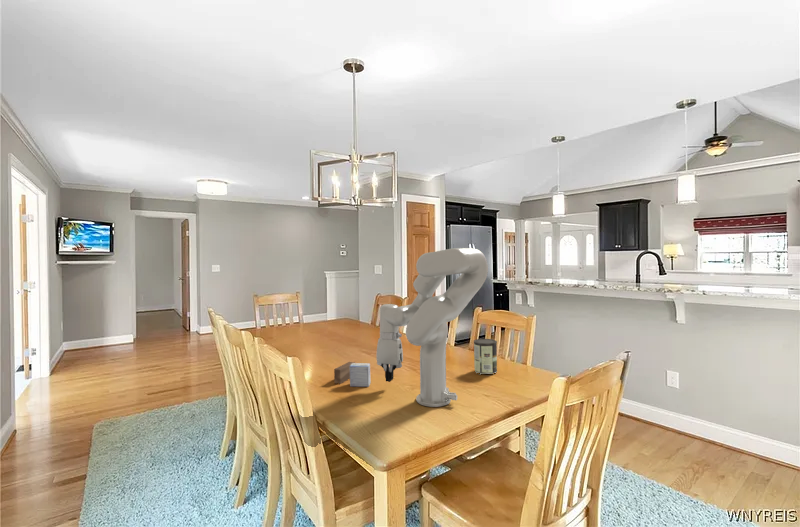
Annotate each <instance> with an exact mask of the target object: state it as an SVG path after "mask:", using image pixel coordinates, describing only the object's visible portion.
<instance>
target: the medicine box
mask: <svg viewBox="0 0 800 527" xmlns="http://www.w3.org/2000/svg"><path fill="white" fill-rule="evenodd" d="M371 382H372V381H371V363H369V362H368V363H367V362H366V363H365V362H364V363H363V362H361V363H360V362H358V363H357V362H355V363H352V364H351V365H350V379H349V384H350V385H349V386H350V387H367V388H368V387H370V385H371Z"/></svg>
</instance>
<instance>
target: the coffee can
mask: <svg viewBox="0 0 800 527" xmlns="http://www.w3.org/2000/svg"><path fill="white" fill-rule="evenodd" d="M497 342H498V341H497V340H496V339H491V338H477V339H474V340H473V350H474V351H473V356H474V358H473V359H474V367H473V368H474V370H475V372H476V373H475V372H474V373H475V374H477V373H480V374H479V375H481V374H493V373H496V372H497V373H498V357H497V355H498V354H497V349H498V348H497V346H498V345H497ZM497 373H496V374H497ZM493 375H494V374H493Z"/></svg>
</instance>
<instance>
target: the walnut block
mask: <svg viewBox="0 0 800 527" xmlns="http://www.w3.org/2000/svg"><path fill="white" fill-rule="evenodd" d="M352 363H356V362H355V361H348V362H346V363H344V364H342V365H339V366H338V367H336V368H334V370H333V372H334V374H333V376H334V384H337V383H339V385H342V384H343V383H344V382H347V381H348V379H349V380H350V365H351V364H352Z"/></svg>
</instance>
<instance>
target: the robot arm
mask: <svg viewBox="0 0 800 527" xmlns="http://www.w3.org/2000/svg"><path fill="white" fill-rule="evenodd" d="M415 267H416V269H415V270H416V271H417V274H418V275H417V277H416V278H415V279H414V281H413V283H412V285H413V288H414V290H415V292H417V295H416V297H415V298H414V300H413V301H412V303H411V304H406V305H401V306H398V305H397V304H394V303H393V304H392V303H388V304H387V303H385V304H382V305H381V306H380V307H379V338H378V340H377V346H376V355H375V356H376V365H377V366H380V367H381V368H382V369H383V371H384V378H385V382H389V383H391V382H392V381H393V379H394V371H395V370H396V369H398V368H399V369H401V368H402V367H403V364H402V363H403V361H404V352H403V342H402V337H403V335H402V333H400V331H399V329H400V327H404V326H406V327H405V328H406V329H405V337H406V339H407V342H409V343H410V344H411V345H413V346H416V347H420V350H419V375H420V376H419V377H420V378H419V381H420V382H419V384H420V385H419V387H420V388H419V389H420V394H419V393H418V395H417V396H416V397H415V398H416V402H417V404H419V405H421V406H424V407H431V408H439V407H444V406H446V405H449V404H450V403H451V401H457V400H458V394H457V392H453V391H452V392H451V391H450V390H449V387H447V340H448V334H449V326H448V324H447V323H448V322H451V321H454V320H456V319H457V318H458V317H459V315H461V313H462V312H463V310H464V309H465V308H466V307H467V306H468V304H469V303H470V302H471V301H472V299H473V298H474V296H476V294H477V293H478V291H480V289H481V288H482V287H483V286H484V283H485V282H486V279H487V277H488V272H489V264H488V261H487V258H486V256H485V254H484V253H483V252H482V251H480V250H479V249H477V248H472V247H471V248H470V247H455V248H454V247H453V248H447V249H442V250H437V251H431V252H425V253H423V254H421V255H420V256H419V257H418V259H417V261H416V266H415ZM451 275H459V276H458V277H457V278H455V279H454V281H453V282H452V283H451V284H450V286H449V287H448V288H447V289H446V290H445V292H443V293H442V294H439V295H434V294H435V292H436V291H437V290H438V288H439V287H440V285H441V284H442V282H443V281H444V280H445V278H446V277H447V276H451ZM433 295H434V296H433Z"/></svg>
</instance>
